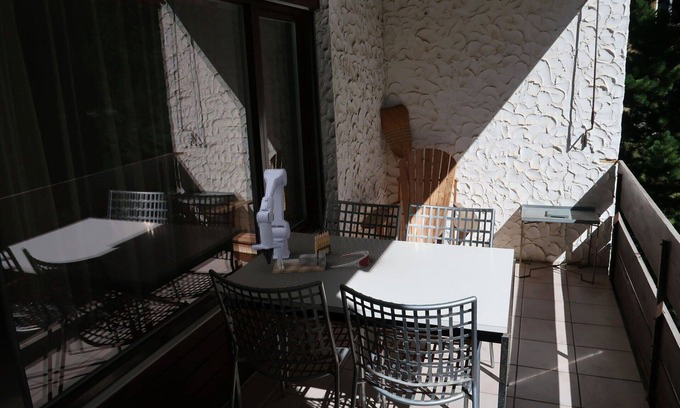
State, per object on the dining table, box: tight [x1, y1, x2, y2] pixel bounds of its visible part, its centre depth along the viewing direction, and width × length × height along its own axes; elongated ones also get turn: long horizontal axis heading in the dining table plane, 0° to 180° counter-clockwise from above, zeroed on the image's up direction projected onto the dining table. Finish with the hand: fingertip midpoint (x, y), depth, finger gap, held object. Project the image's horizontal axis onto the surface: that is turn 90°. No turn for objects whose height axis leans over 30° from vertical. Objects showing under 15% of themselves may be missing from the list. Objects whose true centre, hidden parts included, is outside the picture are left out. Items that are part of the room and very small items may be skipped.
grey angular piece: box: [276, 255, 300, 270], centre depth 259 cm, size 10×9×4 cm
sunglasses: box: [331, 250, 370, 269], centre depth 263 cm, size 17×17×5 cm
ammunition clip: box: [314, 230, 332, 260], centre depth 273 cm, size 11×2×12 cm, turn 142°
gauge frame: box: [272, 250, 327, 275], centre depth 260 cm, size 24×12×6 cm, turn 91°
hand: (269, 263), depth 260 cm, fingers closed
